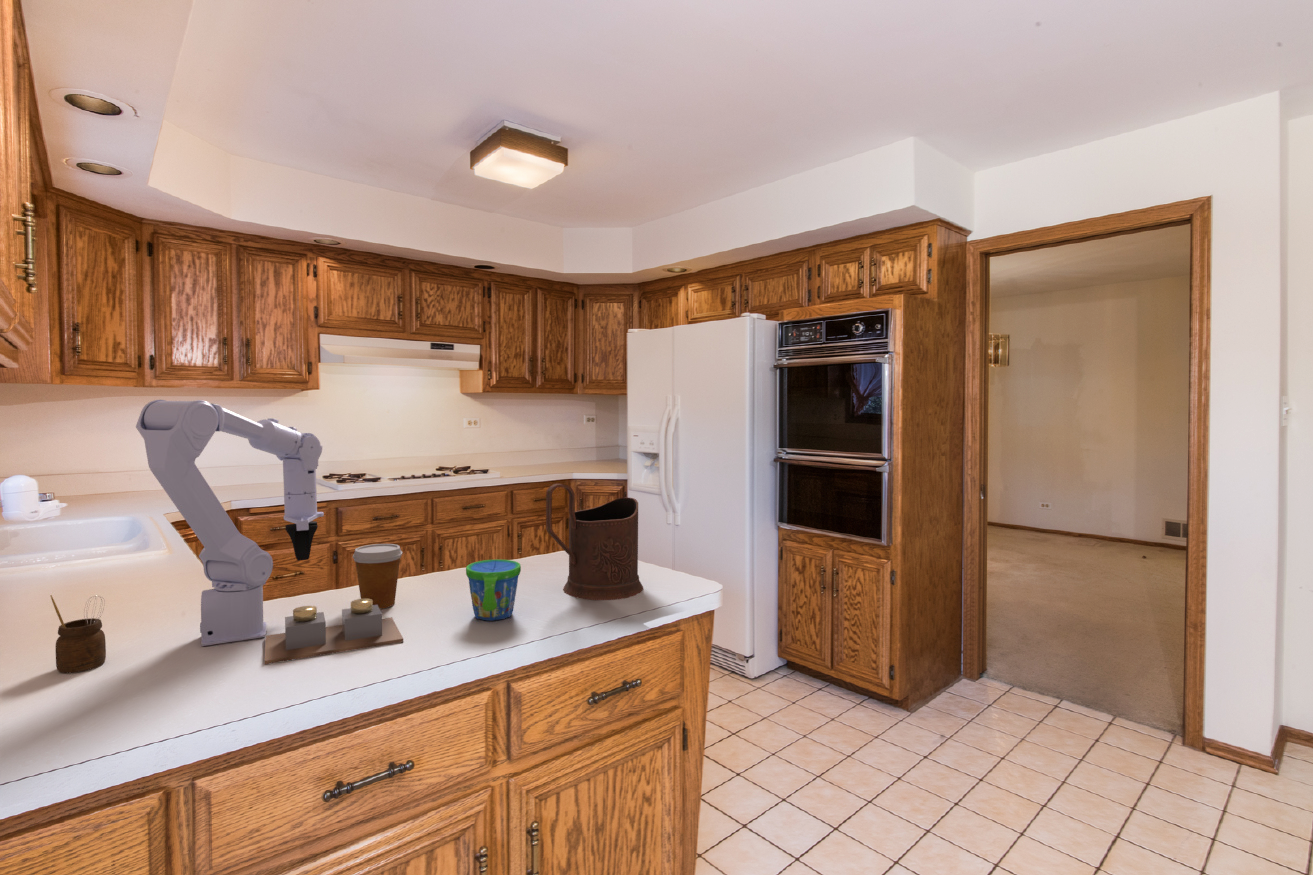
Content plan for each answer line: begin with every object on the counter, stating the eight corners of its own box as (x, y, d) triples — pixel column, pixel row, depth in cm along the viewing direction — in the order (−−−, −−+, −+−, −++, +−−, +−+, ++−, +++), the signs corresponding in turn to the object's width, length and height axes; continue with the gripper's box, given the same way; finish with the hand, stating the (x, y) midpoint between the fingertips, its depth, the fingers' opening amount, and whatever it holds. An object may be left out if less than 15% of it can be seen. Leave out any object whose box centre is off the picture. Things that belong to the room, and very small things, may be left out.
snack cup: (513, 629, 122) (513, 575, 122) (456, 629, 122) (456, 575, 121) (526, 603, 138) (526, 556, 137) (476, 603, 138) (476, 556, 137)
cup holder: (660, 590, 149) (661, 481, 148) (570, 610, 134) (571, 489, 132) (612, 573, 163) (612, 474, 162) (526, 590, 148) (526, 480, 147)
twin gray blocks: (285, 650, 109) (285, 627, 109) (285, 638, 114) (284, 616, 114) (382, 635, 117) (381, 613, 117) (377, 625, 122) (377, 604, 122)
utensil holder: (108, 667, 103) (106, 592, 102) (54, 678, 99) (51, 600, 98) (104, 656, 107) (102, 584, 107) (52, 667, 103) (49, 591, 102)
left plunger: (293, 645, 111) (293, 613, 111) (293, 638, 114) (292, 607, 114) (317, 641, 113) (317, 610, 112) (316, 635, 116) (316, 604, 115)
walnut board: (264, 664, 105) (264, 660, 105) (265, 638, 116) (265, 635, 116) (403, 641, 115) (403, 638, 115) (392, 620, 126) (392, 617, 126)
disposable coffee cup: (385, 613, 130) (384, 554, 130) (342, 610, 132) (342, 551, 132) (412, 600, 140) (411, 544, 139) (372, 596, 142) (371, 542, 141)
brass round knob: (352, 636, 115) (351, 605, 115) (350, 630, 118) (349, 600, 118) (374, 632, 117) (373, 602, 117) (371, 626, 120) (371, 597, 120)
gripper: (325, 496, 126) (327, 565, 127) (320, 486, 139) (322, 549, 140) (283, 499, 123) (285, 570, 124) (282, 488, 135) (284, 553, 136)
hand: (302, 559), depth 131 cm, fingers closed
